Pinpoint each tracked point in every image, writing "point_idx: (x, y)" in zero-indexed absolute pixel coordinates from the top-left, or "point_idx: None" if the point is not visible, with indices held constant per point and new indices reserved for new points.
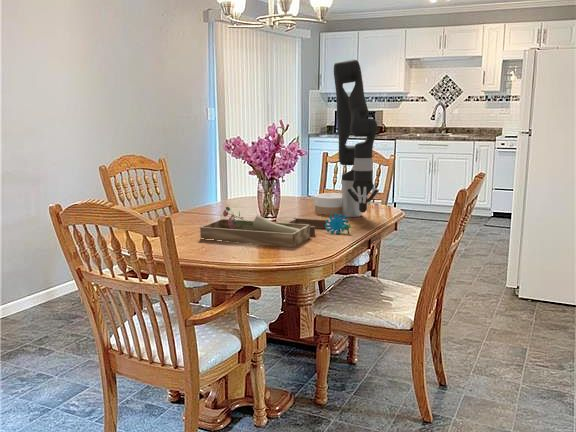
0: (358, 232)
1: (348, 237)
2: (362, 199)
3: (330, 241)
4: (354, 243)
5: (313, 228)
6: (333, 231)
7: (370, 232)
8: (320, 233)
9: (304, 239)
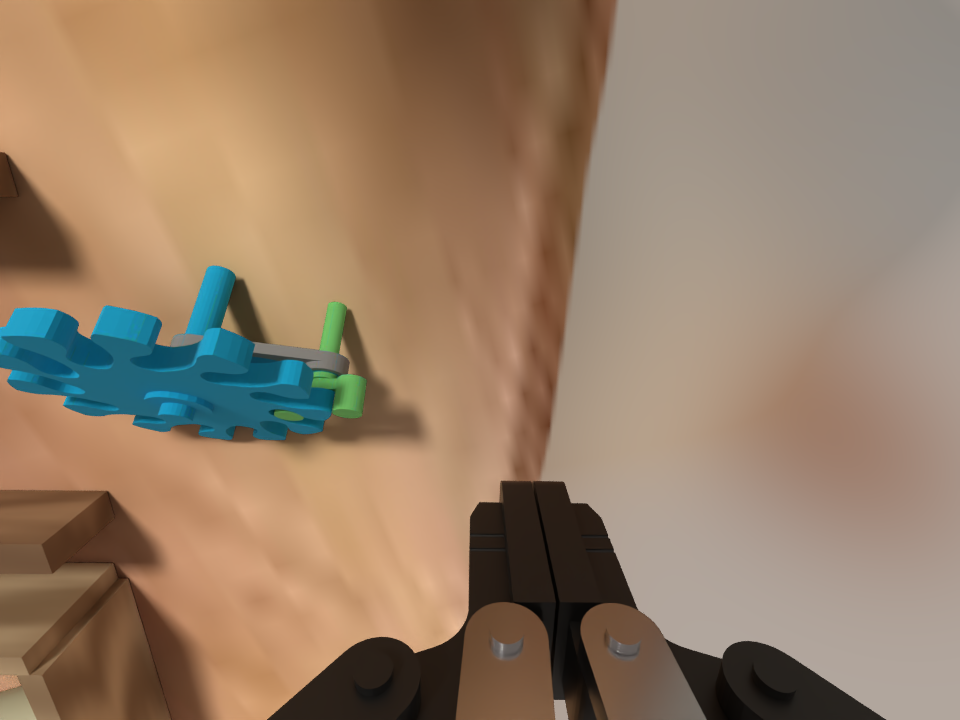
0: (437, 288)
1: (413, 499)
2: (537, 703)
3: (332, 635)
4: None
5: (62, 562)
6: (228, 434)
7: (556, 251)
8: (119, 432)
9: (149, 675)
